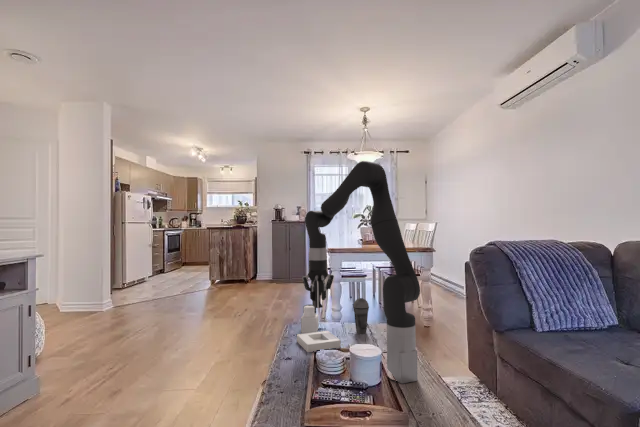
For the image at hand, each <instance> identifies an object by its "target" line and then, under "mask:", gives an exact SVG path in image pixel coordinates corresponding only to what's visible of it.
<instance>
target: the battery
mask: <svg viewBox="0 0 640 427" xmlns="http://www.w3.org/2000/svg"><path fill="white" fill-rule="evenodd" d="M314 292H315V301H312V300H311V302H312V303H311V305H313V306H314V307H315V308H316V309H320V308H323V307H324V305H323V304H321V293H324V282H323V281H322V280H315V289H314Z"/></svg>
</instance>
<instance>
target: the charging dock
mask: <svg viewBox="0 0 640 427" xmlns="http://www.w3.org/2000/svg"><path fill="white" fill-rule="evenodd" d="M296 343H298V344H299V345H300V346H301V347H302V349H304V350H305V351H306V352H307V353H314V352H317V351H316V350H320V349H329V348H336V349H340V348H341V339H340V338H338V337H337V336H336V335H334V334H332V332H330V331H329V330H324V331H317V332H313V333H299V334H296ZM329 350H330V349H329ZM313 351H314V352H313Z"/></svg>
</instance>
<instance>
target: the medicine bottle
mask: <svg viewBox="0 0 640 427" xmlns="http://www.w3.org/2000/svg"><path fill="white" fill-rule="evenodd" d="M302 314H303V315H302V316H301V317H300V332H301V333H300V334H305V333H313V332H319V328H320V327H319V314H318V313H317V308H315V307H314V306H313V304H305V305H303V306H302Z"/></svg>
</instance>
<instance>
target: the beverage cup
mask: <svg viewBox="0 0 640 427" xmlns="http://www.w3.org/2000/svg"><path fill="white" fill-rule="evenodd" d="M357 293H358V298H357V299H355V301H354V303H353V306H352V309H353V312H354V322H355V332H356V334H359V335H366V334H367V331H368V330H367V327H368V315H369V310H370V309H369V308H370V306H369V303H368V300H366V298H362V297H361V296H360V288H357Z"/></svg>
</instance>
